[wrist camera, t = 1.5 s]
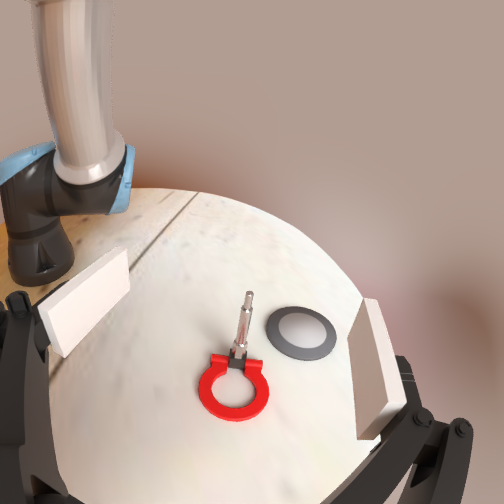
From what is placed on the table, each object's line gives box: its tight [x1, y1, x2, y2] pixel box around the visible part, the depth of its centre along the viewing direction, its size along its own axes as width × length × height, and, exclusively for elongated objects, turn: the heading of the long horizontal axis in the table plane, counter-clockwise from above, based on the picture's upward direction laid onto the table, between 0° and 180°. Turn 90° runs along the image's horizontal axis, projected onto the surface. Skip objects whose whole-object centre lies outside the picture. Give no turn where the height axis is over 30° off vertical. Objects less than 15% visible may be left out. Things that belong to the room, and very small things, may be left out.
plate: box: [266, 307, 337, 361], centre depth 41 cm, size 11×11×1 cm
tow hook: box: [199, 291, 269, 422], centre depth 28 cm, size 8×13×9 cm
